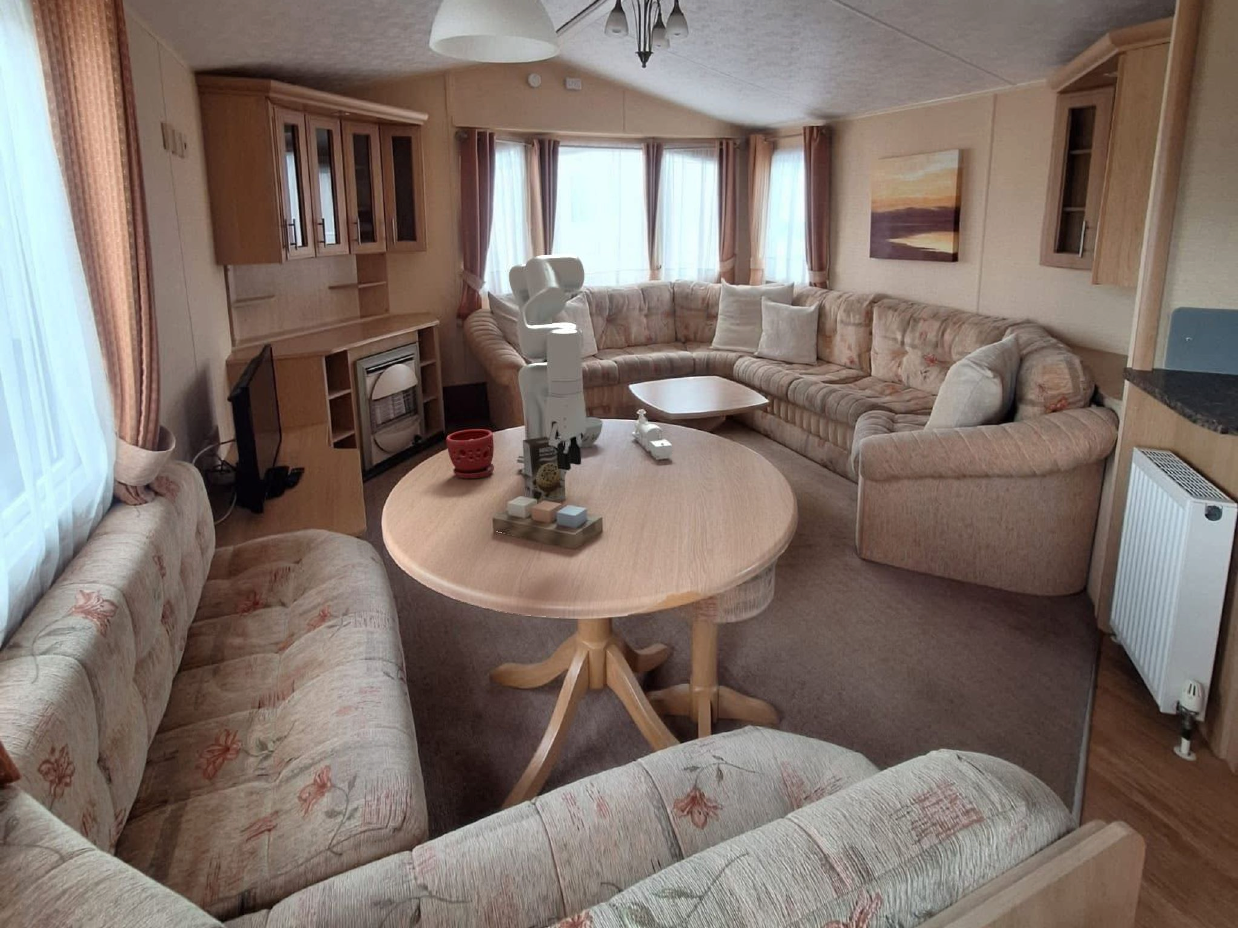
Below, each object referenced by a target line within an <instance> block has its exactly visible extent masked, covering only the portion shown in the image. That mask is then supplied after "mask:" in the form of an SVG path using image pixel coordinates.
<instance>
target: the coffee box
mask: <svg viewBox="0 0 1238 928" xmlns="http://www.w3.org/2000/svg"><path fill="white" fill-rule="evenodd" d="M560 443H561V444H562V445H564V442H560ZM522 449H523V450H522V452H523V453H522V455H523V456H524V463H523V468H524V475H525V476H524V475H523V476H524V491H525V493H524V494H525V497H527V498H533V499H537V504H538V503H540V502H542V501H549V502H554V503H555V502H558V501H563V500H564V501H565V500H566V499H567V498H566V495H567V494H566V479H565V478H566V477H565V476H566V472H564V470H563V469H558V467H557V452H555V449H554V448H553V447H552V446H550V445H549V439H548V438H547V437H541V438H535V439H528V440H526V439H524V440H522Z"/></svg>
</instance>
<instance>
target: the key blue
mask: <svg viewBox="0 0 1238 928" xmlns="http://www.w3.org/2000/svg"><path fill="white" fill-rule="evenodd" d="M556 513H557V525H562V526H567V527H572V528H577V527H579V526H580V525H582V524H583V523H585V522H587V514H588V511H587V508H586V507H582V506H581V507H580V506H575V505H569V504H567V505H566V506H564V507H563V508H562V509H561V510H559V511H558V512H556Z"/></svg>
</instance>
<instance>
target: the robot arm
mask: <svg viewBox="0 0 1238 928" xmlns="http://www.w3.org/2000/svg"><path fill="white" fill-rule="evenodd" d="M508 272H509V273H508V281H509V286H510V289H511V292H512V294H513V297H514V298H515V301H516V303H517V306H518V309H519V312H518V316H517V319H516V332H517V337H518V342H519V343H518V344H519V347H520V350H521V354H522V355H523V356H524V358H526V359H529V360H546V362H535V363H534V362H533V363H529V364H526V365H524V366H522V367H521V368H520V370H519V371H518V374H517V377H518V378H517V379H518V386H519V390H520V391H519V392H520V396H521V400H522V408H523V409H522V410H523V419H524V420H523V421H524V436H525V439H524V440H528V439H535V438H541V437H547V438H548V439H549V445H550V446H552V447H553V448H554V449H555V452H557V467H558V469H563V470H564V472H565V473H566V472H567V471H570V470H571V468H572V467H571V465H576V466H579V465H581V464H582V452H581V450H582V447H581V446H582V441H581V440H582V438H583V435H584V433H585V432H586V417H587V410H586V403H585V401H586V400H585V397H584V396H585V395H584V385H583V384H584V383H583V382H584V381H583V380H584V379H583V362H582V361H583V359H582V349H584V343H585V340H584V339H585V338H584V334H583V331H582V330H581V329H580V328H581V327H579V325H577V324H574V323H572V322H553V318H555V317H556V316H558V315H560V314H561V313H562V312H563V311H564V310H565V308H566V306H567V296H572V295H574V294H575V293H577V292H579V291H580V290H581V289H582V287H583V285H584V283H585V269H584V265H583V263H582V261H581V259H580V258H579V257H578V256H576V255H575V254H547V255H546V254H545V255H544V254H543V255H537V256H534V257H531V258H530V259H529V260H527V262H525V263H520V264H516V265H513V266H512V267H511V268H510V270H509V271H508ZM560 442H563V445H562V444H561V443H560ZM516 462H517V464H524V456H523V453H522V454H519V455H518V458H517V459H516ZM521 473H522V475H523V476H524V477H525V475H524V467H523V468H522V469H521Z"/></svg>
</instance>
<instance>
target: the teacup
mask: <svg viewBox="0 0 1238 928" xmlns="http://www.w3.org/2000/svg"><path fill="white" fill-rule="evenodd" d="M603 424H604V421H603V420H602V419H600V418H598V417H592V416H590V417H587V416H586V432H585V433H584V435H583V438H582V440H581V441H582V446H581V447H580V448H581V449H582V448H590V447H592V446H593V445H594V443H596V442H597V441H598V439H599V438H600V435H601V432H602V430H603Z"/></svg>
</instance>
